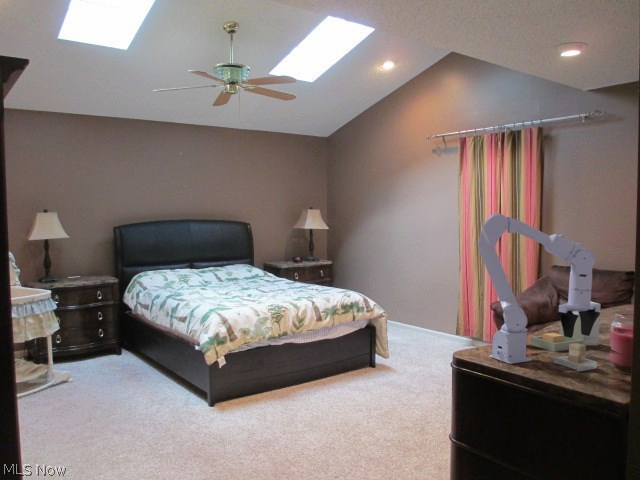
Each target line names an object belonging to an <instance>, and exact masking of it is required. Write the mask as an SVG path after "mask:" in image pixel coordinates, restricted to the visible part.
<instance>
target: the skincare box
mask: <svg viewBox="0 0 640 480" xmlns="http://www.w3.org/2000/svg"><path fill="white" fill-rule="evenodd" d="M590 303H595V304H598V311H596V312H600V313H601V303H599V302H593V301H591V302H590ZM572 313H573V314H575V315H579V312H578V311H575V312H572ZM600 317H601V314H600V315H599V317H598V318H597V319H596V321H595V323H594V325H593V327H592V330H591V333H590V335H589V336H586V335H585V340H583V345H585V346H599V339H600V338H599V335H600ZM578 318H580V315H579V316H578Z"/></svg>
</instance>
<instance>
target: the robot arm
mask: <svg viewBox="0 0 640 480" xmlns="http://www.w3.org/2000/svg"><path fill="white" fill-rule="evenodd" d="M506 232H507V233H508V234H520V235H522V236H524V237H526V238H528V239H530V240H533V241H534V242H537V243H538V244H542V245H543V247H544V250H545V251H546V252H547V253H549V254H551V255H552V256H555V257H557V258H559V259H561V260H562V261H564V262H570V272H569V282H568V296H567V297H568V298H567V302H566V303H563V304H559V305H558V310H557V311H556V315H557V317H558V318H559V322H560V321H561V324H562V327H563V332H564V336H565V337H569V338H572V336H573V332H574V326H575V323H576V320H577V318H578V316H579V315H580V320H581V334H582V335H586V336H589V335H590V333H591V330H592V327H593V325H594V323H595V321H596V319H597V318H598V317H599V315H600V316H601V311H600V312H596V311H598V304H599V303H598V304H595V303H596V302H595V303H590V302H591V300H592V286H593V267H594V265H595V264H596V262H597V258H596V255H595V254H594V252H593V251H592V250H590V249H589V248H587V247H586V248H585V247H584V246H582V244H581V243H579V242H574V241H572V240H569V239H567V238H566V235H564V234H557V233H554V234H551V235H548V234H546V233H545V232H543V231H541V230H539V229H537V228H535V227H533V226H531V225H529V224H527V223H525V222H523V221H522V220H519V219H517V218H512V217H509V216H505V215H504V214H502V213H493V214H491V215H489V216H488V217H487V219H486V220H485V222H484V223H483V225H482V227H481V231H480V236H479V239H478V242H477V248H478V251H479V253H480V256H481V258H482V261H483V263H484V265H485V268H486V270H487V274H488V276H489V278H490V280H491V283H492V286H493V288H494V291H495V293H496V296H497V298H498V300H499V303H500V305H501V308H502V311H503V313H502V317H503V320H504V323H503V325H501V328H500V330H498V331H496V332H494V334H493V336H492V347H491V354H490V355H489V357H490V358H492V359H496V360H498V361H501V362H503V363H507V364H510V365H512V364H519V363H525V362H532V361H533V359H532V358H529V357H527V356H526V354H527V338H528V328H526V327H527V325H528V317H527V315H526V312H525V310H524V309H523V308H522V307H521V306H520V305H519V304H518V302H517V299H516V297H515V294H514V292H513V290H512V287H511V285H510V282H509V280H508V278H507V275H506V272H505V271H504V270H505V269H504V267H503V265H502V263H501V261H500V258H499V256H498V252H497V251H496V248H495V247H496V246H497V243H498V241H499V240H500V238H501V237H502V236H503V235H504V233H506ZM575 311H578V312H579V315H575V314H573V313H572V312H575Z"/></svg>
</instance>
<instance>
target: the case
mask: <svg viewBox="0 0 640 480" xmlns="http://www.w3.org/2000/svg"><path fill="white" fill-rule="evenodd" d="M558 334H560V335H564V332H563V327H562V324H561V321H560V320H559V333H558ZM583 340H585V335H582V334H581V320H580V318H577V320H576V323H575V326H574V332H573V336H572V338H569V337H565V336H564V339H563V342H558V343H552V342H549V341H545V340H543V335H539V336H531V337H530V345H531V346H533V347H538V348H540V349H544V350H548V351H551V352H554V353H555V352H563V351H569V344H574V343H578V344H581V345H583Z"/></svg>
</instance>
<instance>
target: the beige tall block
mask: <svg viewBox="0 0 640 480" xmlns="http://www.w3.org/2000/svg"><path fill="white" fill-rule="evenodd" d="M586 349H587V345H581V344H578V343H574V344H569V350H568V356H569V361H572V362H575V363H580V362H585V358H586V352H587V351H586Z"/></svg>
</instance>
